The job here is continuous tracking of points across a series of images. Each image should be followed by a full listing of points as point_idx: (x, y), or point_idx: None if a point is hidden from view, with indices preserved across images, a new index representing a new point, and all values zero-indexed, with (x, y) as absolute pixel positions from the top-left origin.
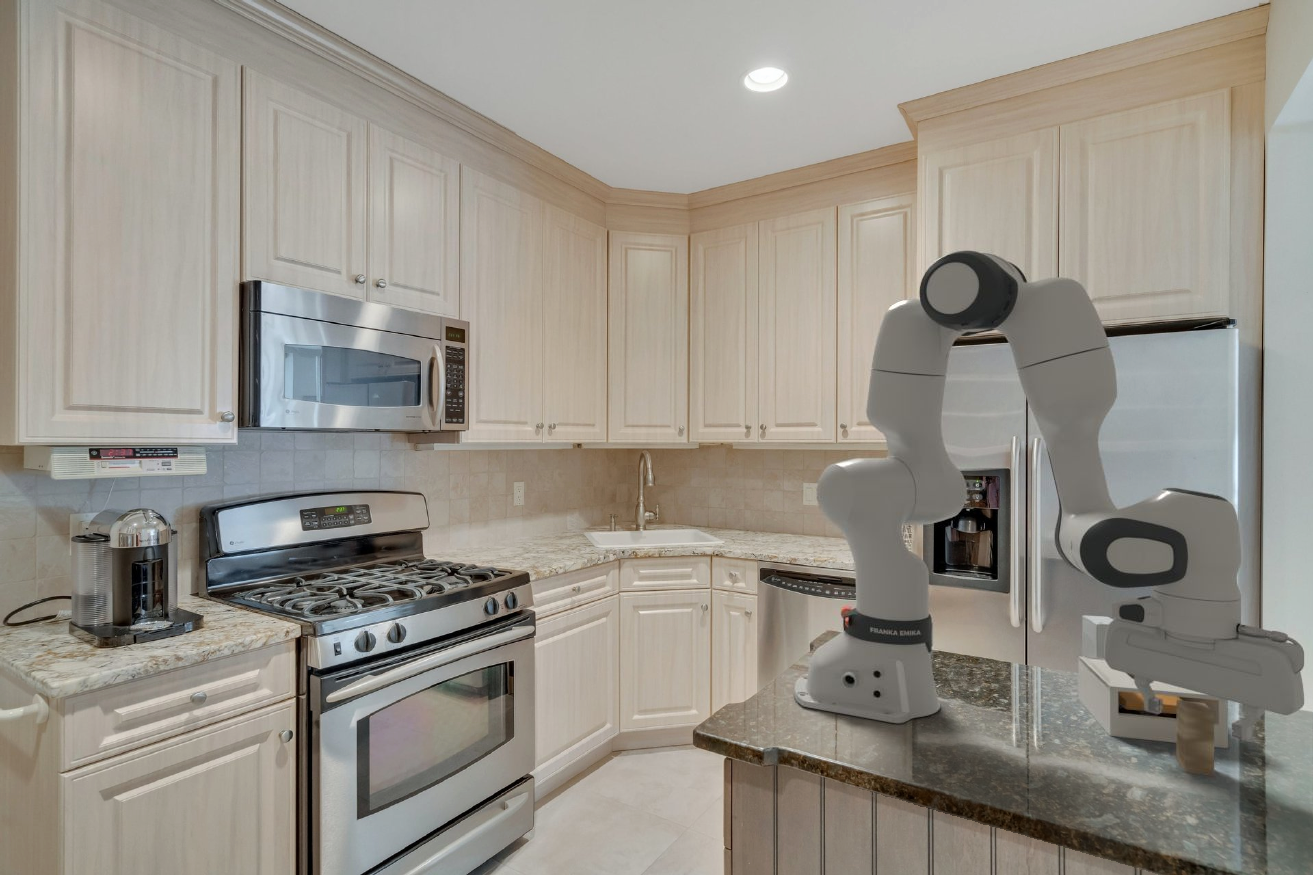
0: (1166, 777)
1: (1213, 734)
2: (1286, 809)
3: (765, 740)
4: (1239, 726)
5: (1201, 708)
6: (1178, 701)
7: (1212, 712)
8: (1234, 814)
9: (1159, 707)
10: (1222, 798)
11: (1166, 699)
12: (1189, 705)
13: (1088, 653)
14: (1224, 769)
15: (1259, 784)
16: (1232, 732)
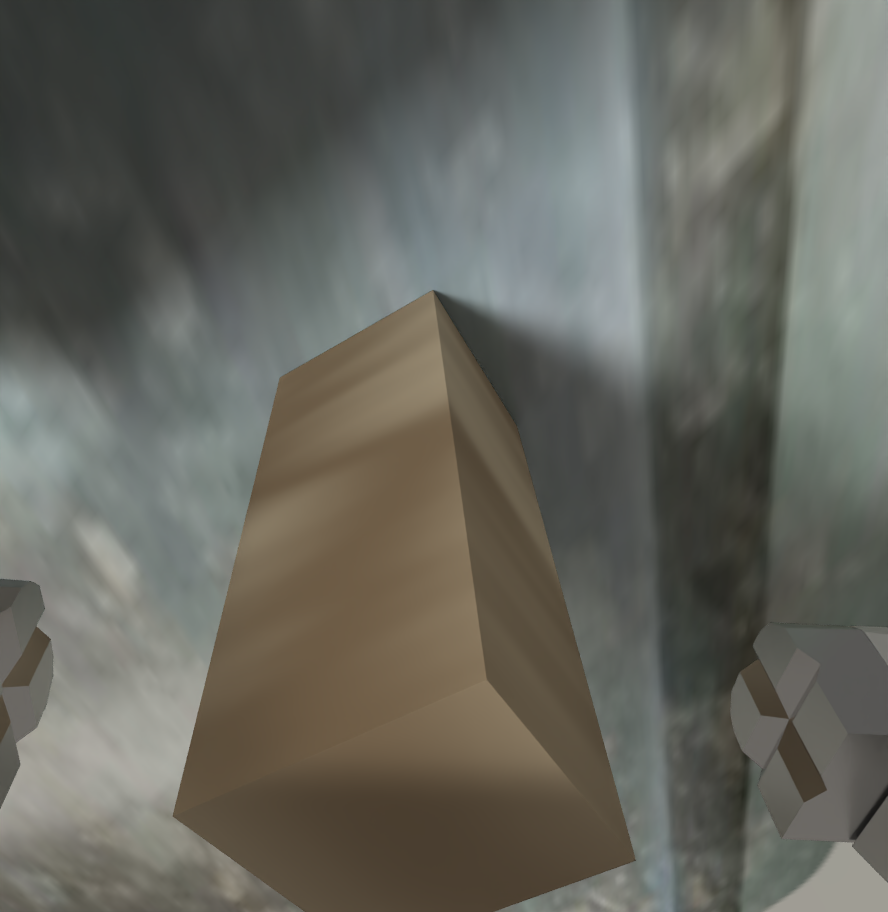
0: None
1: (570, 637)
2: (852, 551)
3: None
4: (842, 832)
5: (499, 852)
6: (219, 846)
7: (618, 857)
8: (648, 743)
9: (12, 668)
10: (593, 653)
11: None
12: (368, 867)
13: None
14: (550, 250)
15: (755, 332)
16: (749, 752)
